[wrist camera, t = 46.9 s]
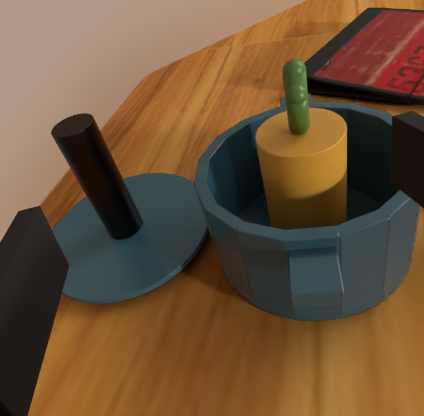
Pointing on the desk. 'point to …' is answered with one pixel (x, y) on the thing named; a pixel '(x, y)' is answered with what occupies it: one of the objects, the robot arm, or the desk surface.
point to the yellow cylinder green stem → (303, 159)
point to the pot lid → (122, 222)
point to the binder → (373, 58)
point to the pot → (310, 237)
